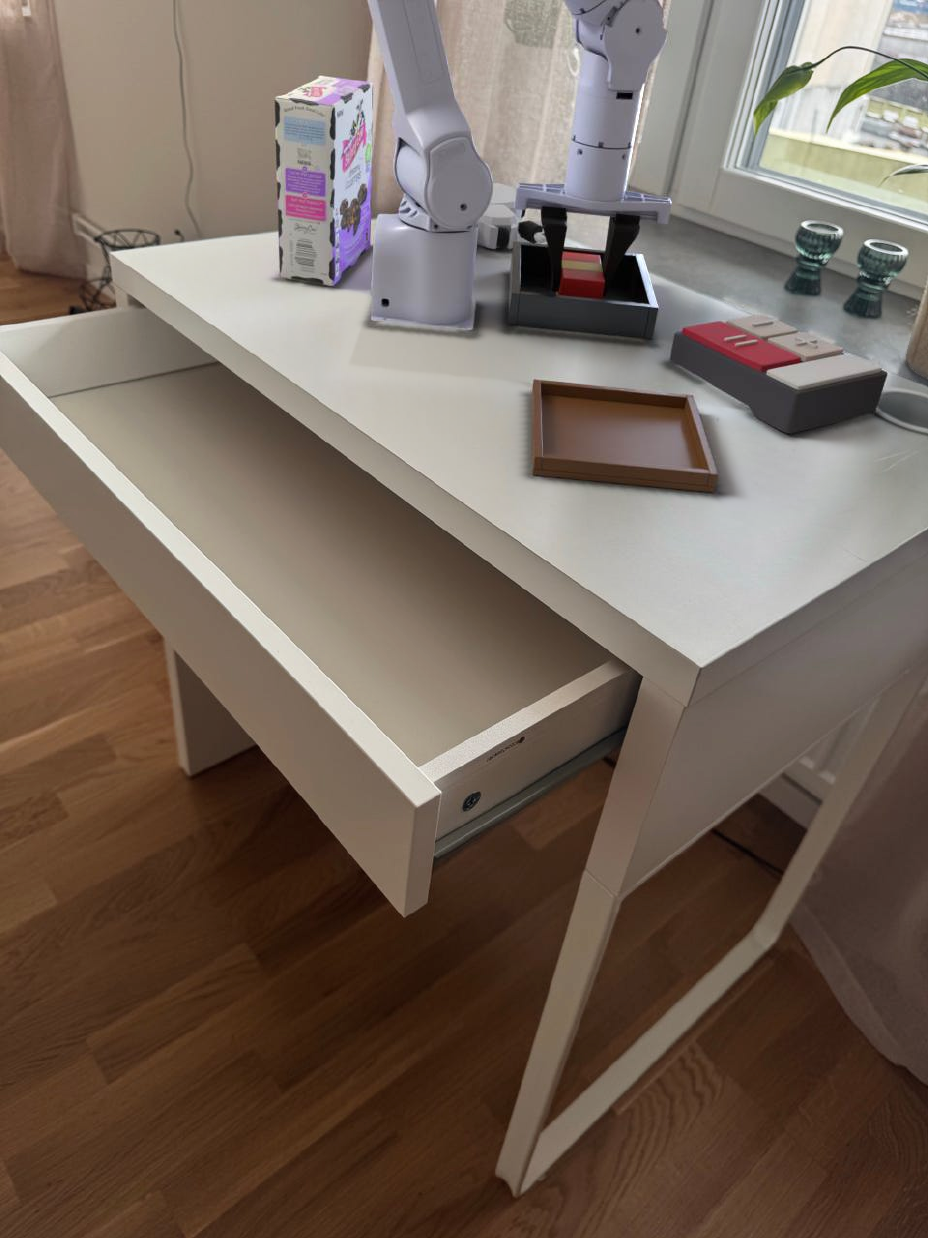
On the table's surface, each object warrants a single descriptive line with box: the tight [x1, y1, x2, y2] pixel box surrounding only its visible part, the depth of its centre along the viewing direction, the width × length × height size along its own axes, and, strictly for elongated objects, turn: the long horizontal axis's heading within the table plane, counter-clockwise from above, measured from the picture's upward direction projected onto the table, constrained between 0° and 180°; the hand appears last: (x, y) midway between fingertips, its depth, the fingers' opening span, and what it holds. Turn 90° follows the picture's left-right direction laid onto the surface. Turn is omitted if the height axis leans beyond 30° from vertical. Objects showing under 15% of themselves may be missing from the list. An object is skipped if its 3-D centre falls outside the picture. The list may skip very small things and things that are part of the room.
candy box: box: [274, 75, 374, 287], centre depth 96 cm, size 14×6×16 cm, turn 168°
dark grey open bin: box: [507, 241, 660, 341], centre depth 96 cm, size 14×16×4 cm
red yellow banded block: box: [556, 252, 605, 299], centre depth 95 cm, size 4×8×4 cm, turn 177°
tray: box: [530, 379, 719, 493], centre depth 74 cm, size 13×13×2 cm
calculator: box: [669, 313, 888, 434], centre depth 84 cm, size 11×4×15 cm
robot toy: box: [477, 182, 547, 250], centre depth 111 cm, size 12×4×15 cm
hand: (578, 290), depth 96 cm, fingers closed on red yellow banded block, 4 cm apart
